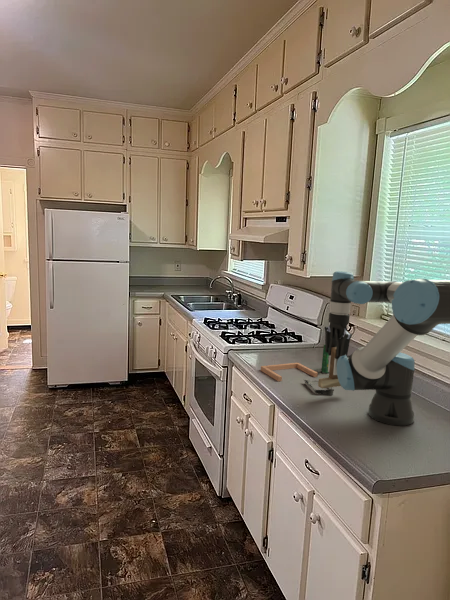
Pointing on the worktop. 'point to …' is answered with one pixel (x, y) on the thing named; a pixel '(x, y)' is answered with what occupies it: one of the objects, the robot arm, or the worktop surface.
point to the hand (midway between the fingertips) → (333, 373)
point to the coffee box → (325, 361)
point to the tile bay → (277, 377)
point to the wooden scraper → (330, 374)
